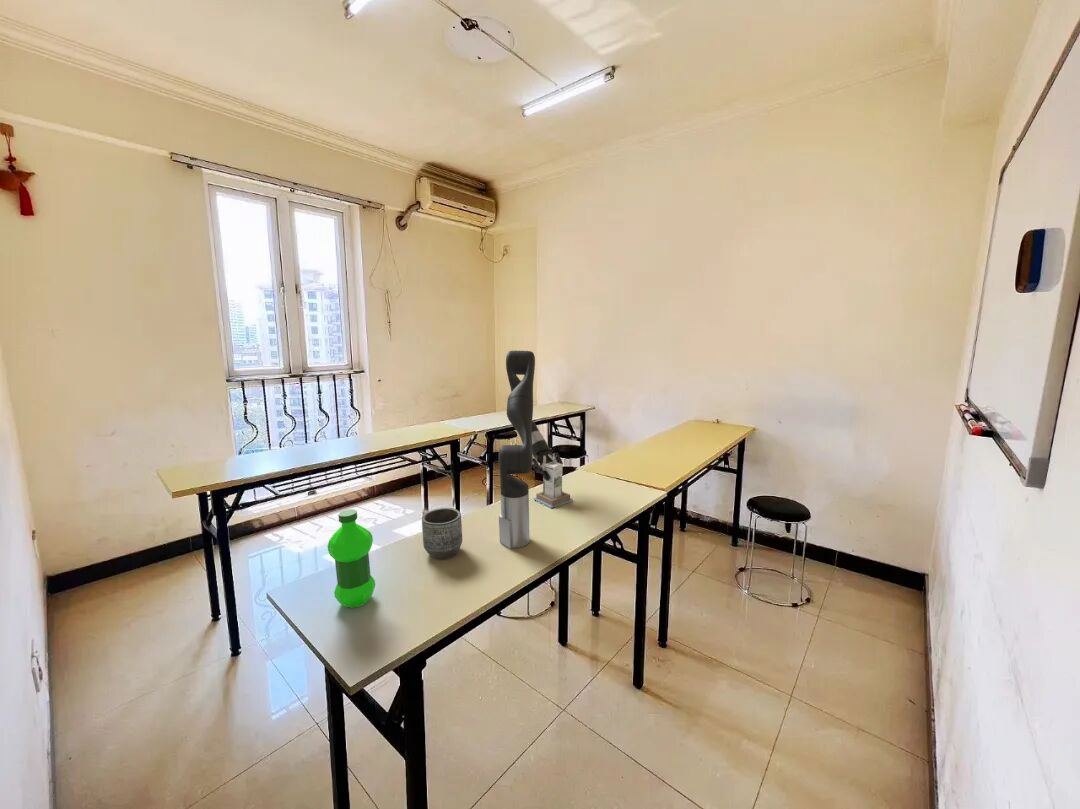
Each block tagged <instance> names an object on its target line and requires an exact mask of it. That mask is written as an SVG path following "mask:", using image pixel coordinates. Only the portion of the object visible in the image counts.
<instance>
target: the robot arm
mask: <svg viewBox="0 0 1080 809" xmlns="http://www.w3.org/2000/svg"><path fill="white" fill-rule="evenodd" d="M535 367H536V356H535V354H534V352H533V351H530V350H509V351H508V352H507V353H506V356H505V369H506V370H505V371H506V374H507V381H508V384H509V386H510V390H511V391H510V394H509V395H508V397H507V401H506V402H507V403H506V416H507V419H508V421H509V422H510V424H511V426H512V427H513V428H514V429H515V431H516V432H517V434H518V436H519V438H520V440H521V443H522V444H511V445H510V444H507V445H506V444H505V445H502V446H500V447H499V450H498V468H499V469H498V470H499V478H500V479H499V480H500V481H499V483H500V484H499V485H500V515H498V528H499V529H498V531H499V534H498V535H499V543H500V544H502V545H503V546H504V547H506V548H508V550H511V549H518V548H522V547H525V546H527V545H529V543H530V541H531V540H530V539H531V538H530V504H529V503H530V500H529V499H530V497H529V484H528V483H527V482H526V481H524V480H523V479H519V478H517V477H515V476H514V475H516V474H517V475H520V474H522V475H524V474H529V473H530V472H531V470H532V468H533V470H534V471H535V472H536V474H541V475H542V478H543V477H544V479H545V480H546V481H549V480H550V476H549V474H548V473H547V471H545V470H546V468H545V467H544V465H546V464H547V463H550V462H557V463H560V464H562V465H563V464H564V463H563V461H562V458H561V456H560V454H559V452H555V453H552V452H551V449H550V448H551V447H549V444H548V443H547V441H546V439H545V438H544V435H543V434H542V433H541V432H540V429H539V428H538V426H537V424H536V423H535V421H533V416H534V415H533V414H534V379H535V371H536V370H535V369H536V368H535ZM518 375H519V376H520V375H521V376H523V378H522V379H520V378H519V377H518ZM562 477H564V471H563V470H562Z"/></svg>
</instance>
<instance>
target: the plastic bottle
mask: <svg viewBox="0 0 1080 809" xmlns="http://www.w3.org/2000/svg"><path fill="white" fill-rule="evenodd" d="M337 517H338V522H339V523H341V526H340V527H338V529H337V530H336V531H335V532H334V533H333V534H332V536H330V539H329V540H328V543H327V551H328V554H329V556H330V557H331V558H332V559H334V562H335V564H334V565H335V571H336V572H335V573H336V581H337V584H336V586H335V589H334V592H333V593H334V598H335V599H336V600H337V602H338V603H339V604H340V605H341V606H343V607H346V608H348V607H352V608H351V609H356V608H359V607H358V606H360V607H362V606H363V605H365V604H366V603H367V601H369V600H370V599H371V598H372V596H373V593H374V591H375V588H376V580H375V578H374V577H373V576H372V575H371V565H370V556H369V552H370V551H371V549H372V546H373V540H374V539H373V535H372V533H371V531H370V530H368V529H367V528H366V527H364V526H362V525H361V524H358V523H356V521H357V519H358V511H357V510H356V509H352V508H351V509H344V510H342V511H340V512H339V513H338V516H337ZM364 603H365V604H364ZM362 604H363V605H362ZM361 605H362V606H361ZM355 607H356V608H355Z"/></svg>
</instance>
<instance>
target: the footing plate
mask: <svg viewBox="0 0 1080 809" xmlns="http://www.w3.org/2000/svg"><path fill="white" fill-rule="evenodd" d="M535 496H536V497H534V498H533V501H534V500H536V501H538V502H540V503H542V504H544V505H545V507H546V506H547V508H548V507H549V509H550V508H551V509H554V508H557V507H559V505H560V506H562V504H563V505H565V504H568V503H570V502H573V501H574V498H571V494H570V493H568V492H565V491H563V490H562V496H561V497H558V498H555V499H550V498H548V497H545V496H543V491H541V492H537V493H536V494H535ZM536 501H535V502H536ZM538 502H537V503H538ZM540 503H539V504H540ZM542 504H541V505H542ZM544 505H543V506H544ZM553 507H554V508H553Z"/></svg>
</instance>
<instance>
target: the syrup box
mask: <svg viewBox="0 0 1080 809" xmlns="http://www.w3.org/2000/svg"><path fill="white" fill-rule="evenodd" d="M544 467H545V468H546V470H545V471H547V473H548V474H549V476H550V480H549V481H546V480H545V479H544V477H543V476H542V481H543V482H542V484H543V485H542V487H543V488H542V490H543V491H542V492H543V496H545V497H548V498H550V499H555V498H558V497H561V496H562V491H563V476H562V471H563V464H560V463H557V462H553V461H552V462H550V463H547V464H546V465H544Z"/></svg>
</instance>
